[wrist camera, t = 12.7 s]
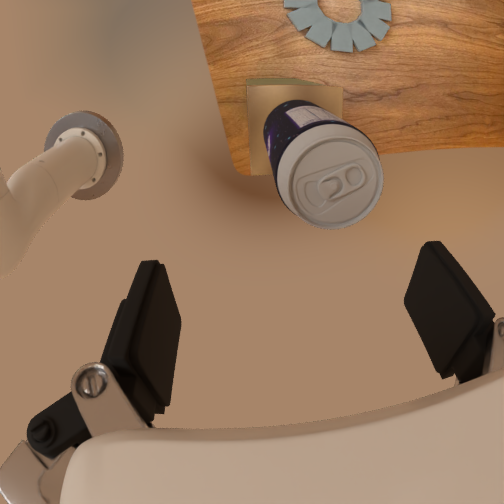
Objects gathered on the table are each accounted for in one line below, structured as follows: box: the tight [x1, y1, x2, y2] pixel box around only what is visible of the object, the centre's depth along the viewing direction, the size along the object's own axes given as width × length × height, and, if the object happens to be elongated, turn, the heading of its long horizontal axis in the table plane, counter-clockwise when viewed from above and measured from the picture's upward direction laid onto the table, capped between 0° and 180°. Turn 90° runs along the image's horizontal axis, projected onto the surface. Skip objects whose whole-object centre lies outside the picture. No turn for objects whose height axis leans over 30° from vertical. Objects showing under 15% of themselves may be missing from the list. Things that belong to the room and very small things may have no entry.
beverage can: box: [263, 100, 384, 230], centre depth 18 cm, size 6×6×12 cm
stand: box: [246, 78, 343, 175], centre depth 33 cm, size 8×8×24 cm
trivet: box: [283, 0, 392, 53], centre depth 31 cm, size 18×18×1 cm
